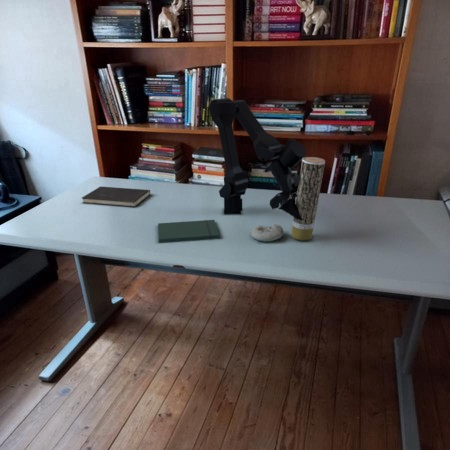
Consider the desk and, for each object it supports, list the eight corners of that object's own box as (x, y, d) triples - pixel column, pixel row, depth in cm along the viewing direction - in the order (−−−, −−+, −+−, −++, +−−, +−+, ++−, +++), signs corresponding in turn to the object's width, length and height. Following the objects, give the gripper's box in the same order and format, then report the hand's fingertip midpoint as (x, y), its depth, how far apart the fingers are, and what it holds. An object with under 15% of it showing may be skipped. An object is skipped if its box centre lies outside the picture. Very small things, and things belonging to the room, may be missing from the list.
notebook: (158, 242, 136) (158, 239, 135) (158, 226, 148) (157, 223, 147) (219, 238, 138) (219, 234, 138) (214, 222, 150) (214, 219, 149)
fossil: (274, 217, 142) (291, 231, 136) (273, 227, 145) (289, 241, 138) (246, 223, 138) (262, 237, 131) (245, 233, 140) (260, 247, 133)
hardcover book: (134, 207, 165) (134, 201, 163) (82, 203, 169) (81, 197, 168) (150, 194, 178) (150, 189, 176) (101, 191, 183) (100, 186, 181)
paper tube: (315, 237, 138) (329, 160, 125) (305, 243, 134) (318, 164, 120) (297, 231, 142) (309, 155, 128) (287, 237, 137) (298, 159, 124)
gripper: (278, 167, 123) (305, 212, 122) (318, 156, 133) (342, 198, 132) (258, 187, 132) (282, 230, 131) (296, 175, 142) (319, 215, 141)
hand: (307, 217), depth 133 cm, fingers closed on paper tube, 6 cm apart
